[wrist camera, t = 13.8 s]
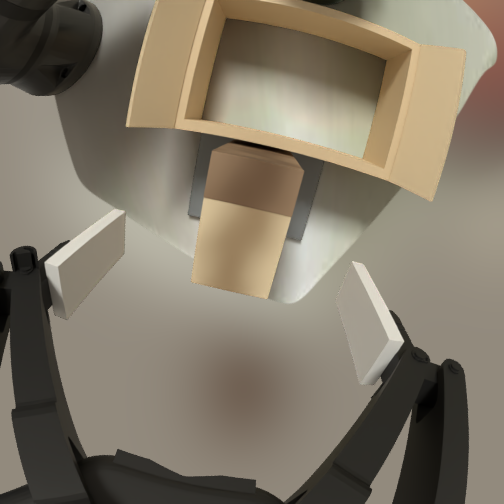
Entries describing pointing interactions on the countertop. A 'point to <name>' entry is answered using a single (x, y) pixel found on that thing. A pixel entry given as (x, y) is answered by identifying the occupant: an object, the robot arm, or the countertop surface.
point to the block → (245, 216)
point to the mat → (304, 197)
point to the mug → (323, 1)
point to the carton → (323, 25)
